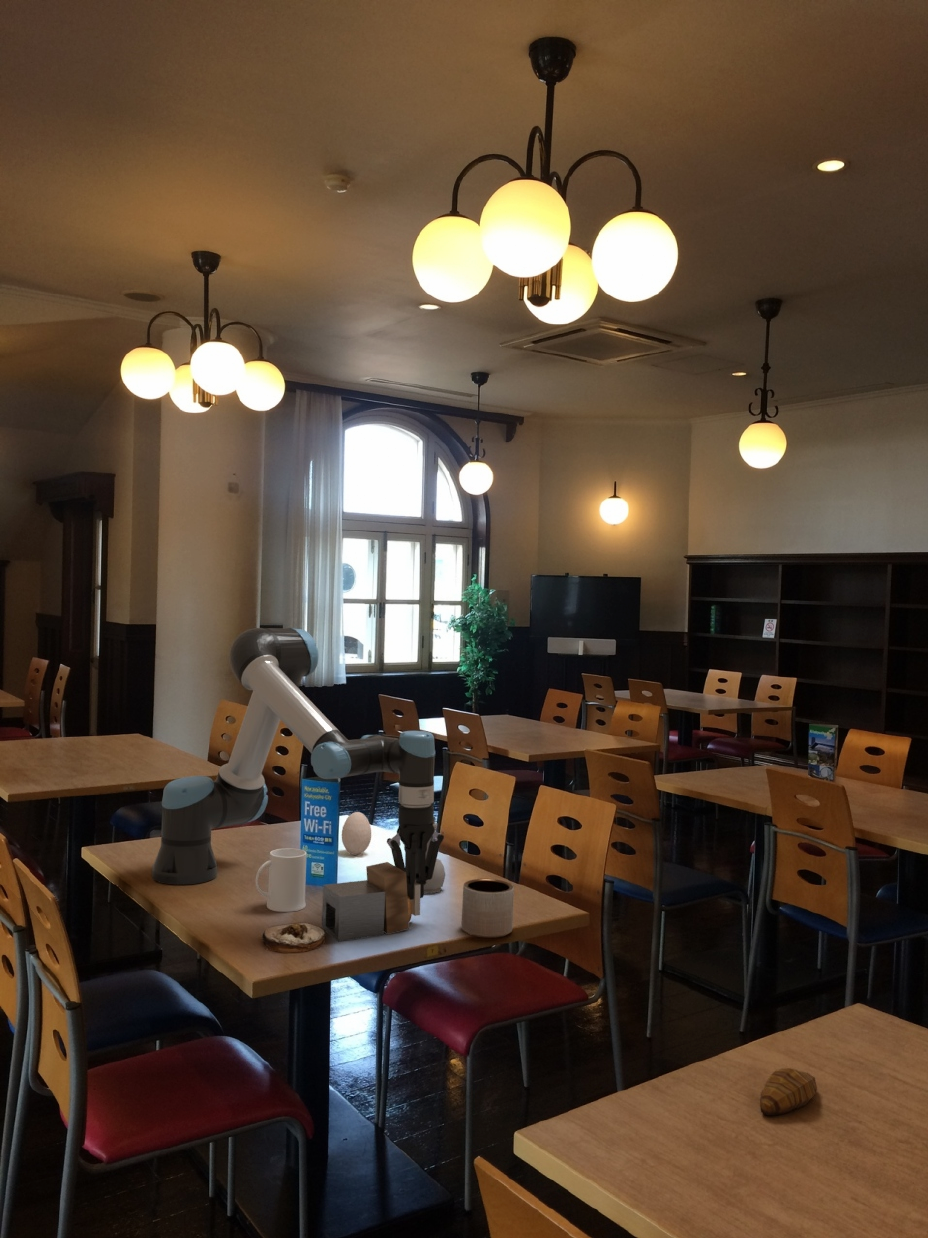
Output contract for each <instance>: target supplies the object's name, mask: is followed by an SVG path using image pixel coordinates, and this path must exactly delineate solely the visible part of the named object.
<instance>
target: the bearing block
mask: <svg viewBox="0 0 928 1238" xmlns="http://www.w3.org/2000/svg"><path fill="white" fill-rule="evenodd" d="M321 909H322V911H321V914H322V915H321V929H323V930H324V931H325V933H327V934H328V935H330V936H331V937H332V938H333V939H334V940H336V942H338V943H339V942H346V941H351V940H359V939H365V938H366V939H367V938H372V937H373V938H374V937H379V936H381V937H382V936H384V933H385V932H384V910H385V891H383V890H382V889H380V888H379V887H377V886H376V885H374V884H373V883H371V882H369V881H368V880H367V879H364V880H357V881H345V882H338V883H329V884H323V885H322V907H321Z"/></svg>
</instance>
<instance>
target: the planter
mask: <svg viewBox="0 0 928 1238" xmlns="http://www.w3.org/2000/svg"><path fill="white" fill-rule="evenodd" d="M514 889H515V887H514V885H513V884H512V883H511V882H508V881H504V880H501V879H496V878H495V879H494V878H475V879H471V880H466V881H465V882H464V883H463V886H462V903H461V904H462V908H461V921H460V922H461V925H460V926H461V929H462V930H463V932H465V933H466V932H467V934H468V933H469V934H468V935H470V934H471V935H470V936H473V937H478V938H483V939H485V938H486V939H495V938H501V937H502V938H503V937H505V936H507V935H509V934H510V933H512V931H513V929H514V928H513V925H514V896H515V894H514V892H515V890H514Z"/></svg>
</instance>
